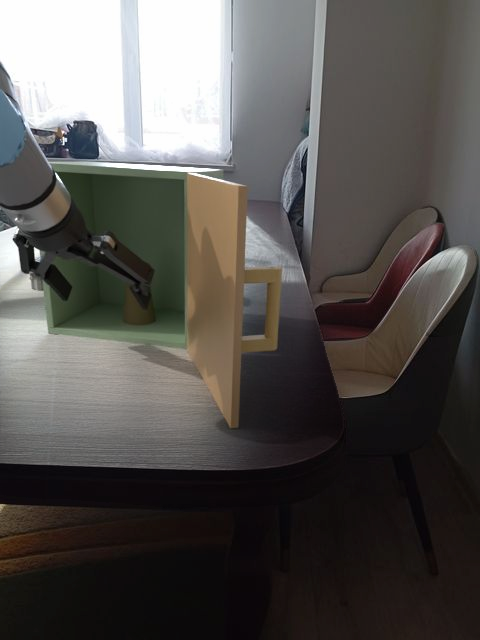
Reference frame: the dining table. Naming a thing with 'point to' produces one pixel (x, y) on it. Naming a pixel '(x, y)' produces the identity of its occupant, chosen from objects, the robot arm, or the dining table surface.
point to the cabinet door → (223, 288)
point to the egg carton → (36, 282)
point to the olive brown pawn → (137, 309)
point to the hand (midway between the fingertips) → (106, 298)
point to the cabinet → (138, 236)
